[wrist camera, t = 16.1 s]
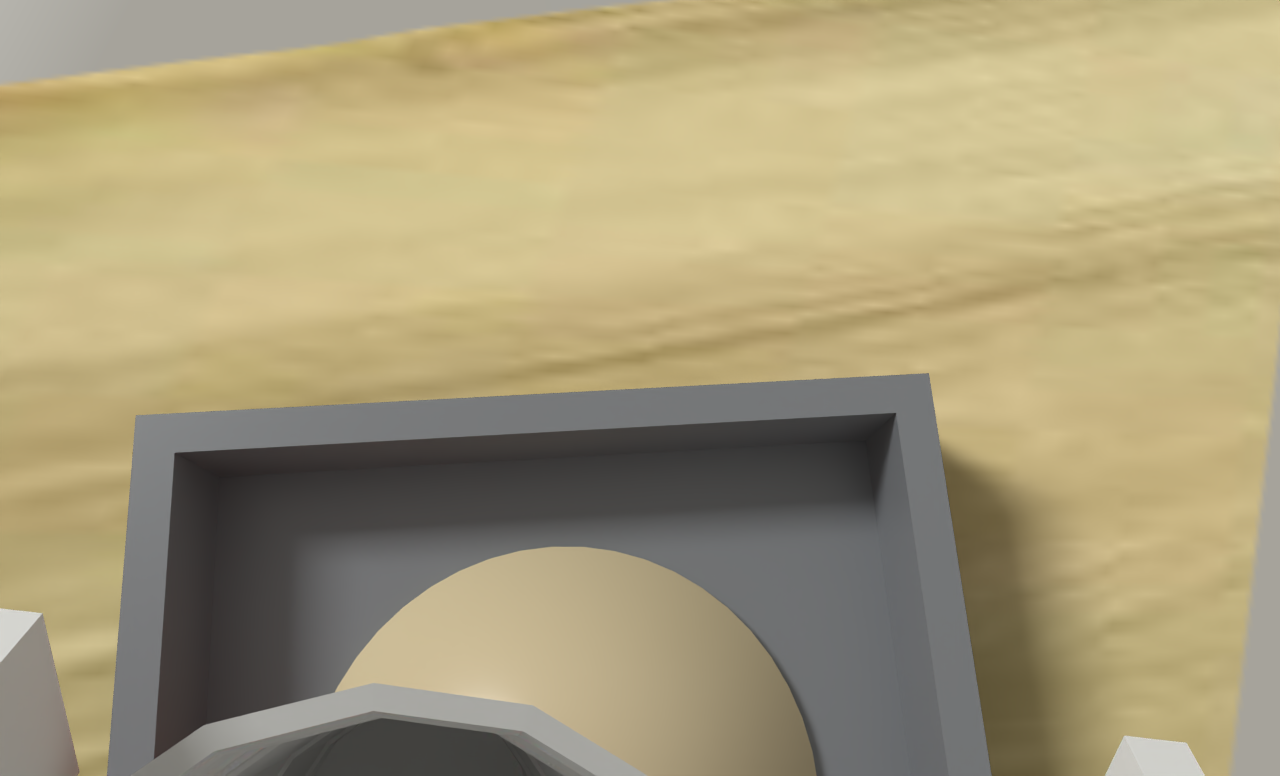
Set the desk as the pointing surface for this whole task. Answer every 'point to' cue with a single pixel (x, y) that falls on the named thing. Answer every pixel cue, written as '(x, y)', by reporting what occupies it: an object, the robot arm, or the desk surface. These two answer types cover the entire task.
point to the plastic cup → (389, 740)
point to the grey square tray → (566, 572)
